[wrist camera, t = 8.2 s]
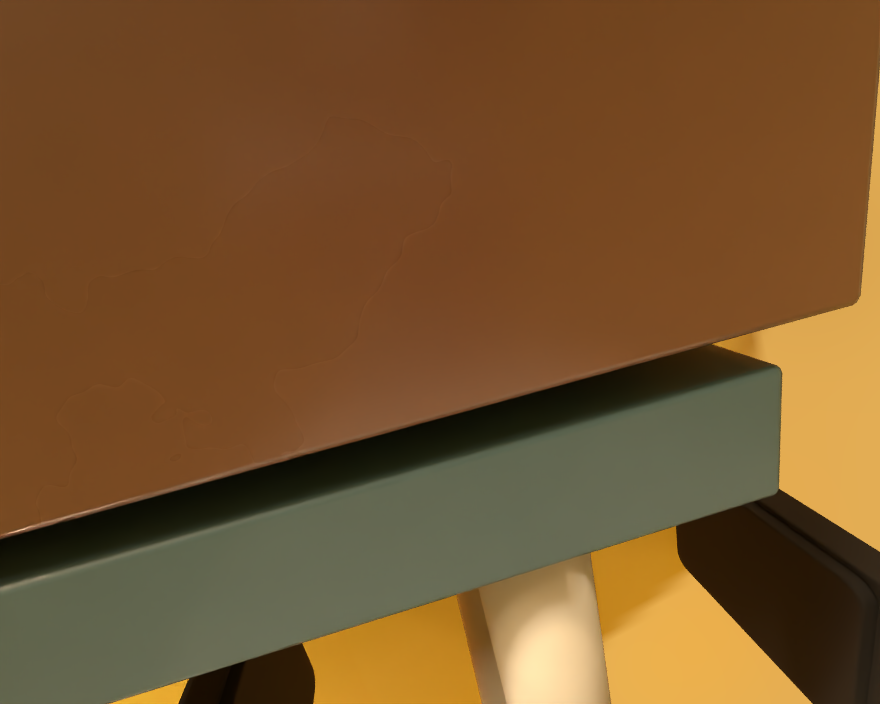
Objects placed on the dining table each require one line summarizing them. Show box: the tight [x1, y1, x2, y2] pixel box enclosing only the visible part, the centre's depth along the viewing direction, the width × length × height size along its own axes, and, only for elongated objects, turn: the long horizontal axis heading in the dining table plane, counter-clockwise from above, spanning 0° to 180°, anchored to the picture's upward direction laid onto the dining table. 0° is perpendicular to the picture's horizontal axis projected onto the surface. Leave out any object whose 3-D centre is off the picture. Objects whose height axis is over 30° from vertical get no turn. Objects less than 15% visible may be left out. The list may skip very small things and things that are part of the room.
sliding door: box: [0, 344, 782, 704], centre depth 8 cm, size 7×8×10 cm
